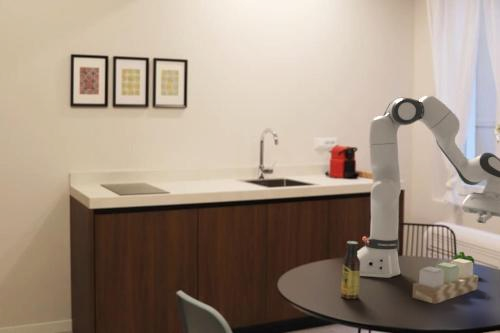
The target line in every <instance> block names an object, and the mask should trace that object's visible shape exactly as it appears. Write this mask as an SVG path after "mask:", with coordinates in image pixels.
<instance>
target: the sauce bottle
mask: <svg viewBox="0 0 500 333" xmlns="http://www.w3.org/2000/svg"><path fill="white" fill-rule="evenodd" d="M345 246H346V252H345V256H344V258H343V261H342V267H341V282H340V283H341V284H340V286H341V287H340V292H341V297H342V298H344V299H347V300H349V299H350V300H354V299H355V300H356V299H358V297H359V293H360V279H361V276H360V260H359V258H358V256H357V254H358V253H357V251H358V248H359V242H358V241H354V240H352V241H351V240H348V241H347V242H346V245H345Z"/></svg>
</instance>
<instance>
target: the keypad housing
mask: <svg viewBox="0 0 500 333" xmlns="http://www.w3.org/2000/svg"><path fill="white" fill-rule="evenodd" d="M478 285H479V276H478V275H475V274H473V276H472V277H469V278H466V279H463V278H459V280H458V281H456V282H453V283H446V282H444V284H443V286H440V287H437V288H431V287H427V286H424V285H420V284H419V281H418V282H415V283H413V284H412V298H413V299H415V300H420V301H422V302H423V301H424V302H426V303H429V304H430V303H431V304H434V305H436V304H439V303H442V302H444V301H447V300H450V299H453V298H456V297H459V296H462V295H464V294H468V293H470V292H473V291H476V290H478V289H479V288H478Z"/></svg>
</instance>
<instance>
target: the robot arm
mask: <svg viewBox="0 0 500 333" xmlns="http://www.w3.org/2000/svg"><path fill="white" fill-rule="evenodd" d="M385 109H386V110H385V111H384V113H383V115H379V116H376V117H374V118H373V119H372V120H371V122H370V127H369V137H368V138H369V159H370V168H371V174H372V186H371V188H370V236H368V237H367V236H363V237H362V241H363V242H364V246H363V247H361V248H360V249H359V250H358V249H357V253H358V254H357V256H358V258H359V260H360V277H370V278H371V277H373V278H387V279H389V278H392V277H394V276H398V275H400V274H401V270H400V265H399V264H400V263H399V256H398V253H399V250H400V238H399V213H400V211H399V210H400V209H399V208H400V204H399V203H400V195H401V191H402V190H401V188H402V187H401V177H400V176H401V174H400V165H399V150H398V149H399V148H398V131H399V128H400V127H401V126H408V125H411V124H414V123H415V122H417V121H420V122H421V123H423V124H424V125H425V126H426V127H427V128H428V130H430V132H431V133H432V134H433V136H434V138H435V142H436V144H437V145H438V146H437V147H439V149H440V150H441V152H442V153H443V154H444V156H445V157H446V158H447V159H448V161H449V162H450V163H451V165H452V167H453V168H455V171H456V173H457V174H458V176H459V178H460V180H461V181H462V182H463V183H464V184H466V185H468V186H476V185H477V184H479V183H481V182H483V181H486V184H485V186H484V188H483V191H482V192H473V191H472V193H471V192H470V193H469V194H468V195H467V196H466V198H465V199H464V200H463V202H462V204H461V209H462V210H463V211H464V213H468V214H475V215H477V219H476V222H477V223H481V224H486V223H487V221H489V220H490V219H491V218H493V217H497V218H500V157H498V156H496V155H495V154H493V153H492V152H484V153H482V154H479V155H478V156H476V157H473V158H472V159H469V158H467V157H466V156H465V154H464V153H463V152H462V150H461V149H460V148H459V147H458V145H457V144H456V137H457V135H458V133H459V132H460V131H459V130H460V125H461V124H460V120H459V118H458V116H457V115H456V114H455V113H454V112H453V111H452V110H451V109H450V108H449V107H448V106H447V105H446V104H445V103H443V101H441V100H439V99H438V98H437V97H435V96H434V95H431V94H428V95H424V96H423V97H421V98H420V99H419V100H418V99H414V98H411V97H398V98H395V99H394V100H392V101H391V102H390V103H389V104H388V106H387V107H386V108H385Z"/></svg>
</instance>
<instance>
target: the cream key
mask: <svg viewBox="0 0 500 333" xmlns="http://www.w3.org/2000/svg"><path fill="white" fill-rule="evenodd" d="M449 263H450V264H455V265H458V267H459V278H463V279H466V278H469V277H472V276H473V275H474V268H473V263H472V261H469V260H464V259H455V260H453V259H452V260H451V261H450V262H449Z"/></svg>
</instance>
